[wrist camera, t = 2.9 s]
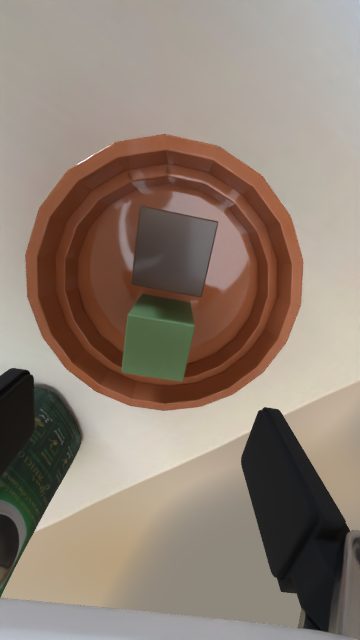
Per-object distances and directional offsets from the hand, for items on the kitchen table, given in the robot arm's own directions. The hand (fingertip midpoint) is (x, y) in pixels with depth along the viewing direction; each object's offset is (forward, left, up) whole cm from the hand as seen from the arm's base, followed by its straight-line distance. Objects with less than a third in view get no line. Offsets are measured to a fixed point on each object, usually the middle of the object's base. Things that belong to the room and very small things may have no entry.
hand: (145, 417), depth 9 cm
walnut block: (-6, 0, -11) cm, 13 cm away
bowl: (-3, 0, -12) cm, 12 cm away
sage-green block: (0, 0, -11) cm, 11 cm away
